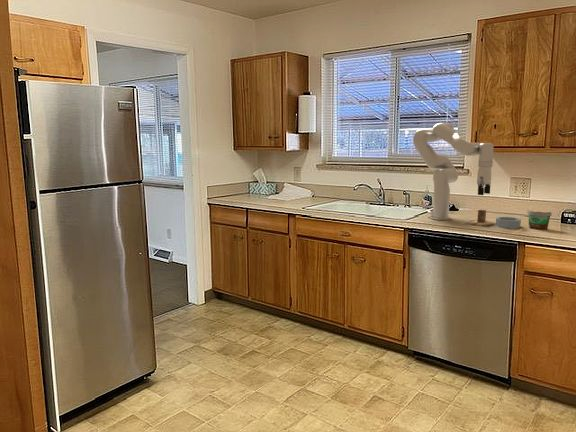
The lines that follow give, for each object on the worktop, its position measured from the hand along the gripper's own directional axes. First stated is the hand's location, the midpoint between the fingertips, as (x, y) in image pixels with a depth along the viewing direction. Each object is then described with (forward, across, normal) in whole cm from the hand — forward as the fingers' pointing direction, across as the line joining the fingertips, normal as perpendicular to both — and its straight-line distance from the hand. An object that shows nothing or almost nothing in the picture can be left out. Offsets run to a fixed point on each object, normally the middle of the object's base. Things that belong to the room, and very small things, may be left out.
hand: (483, 194), depth 273 cm
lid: (+18, 0, -1) cm, 18 cm away
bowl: (+18, -3, +13) cm, 23 cm away
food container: (+19, -9, +27) cm, 34 cm away
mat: (+18, 0, -1) cm, 18 cm away
